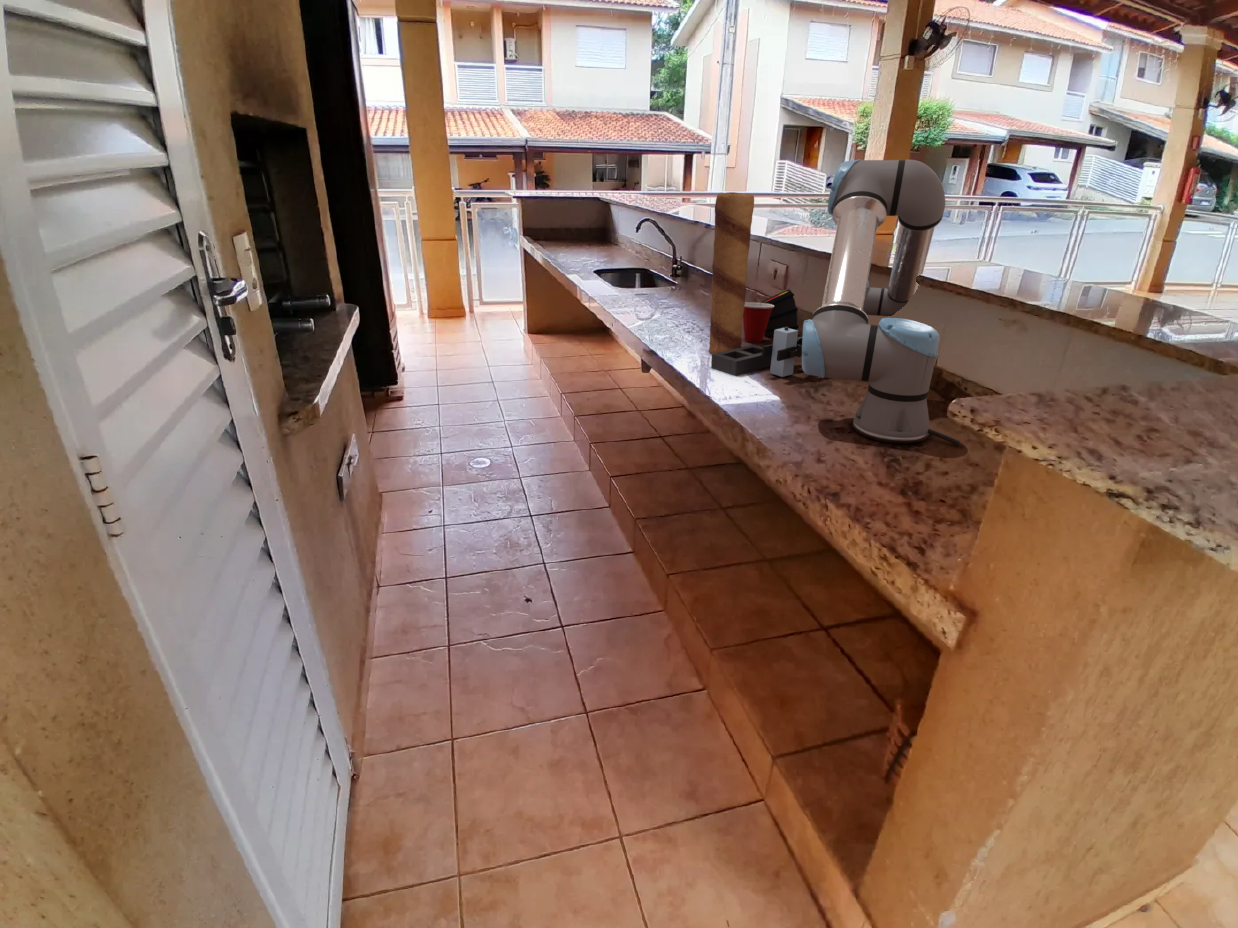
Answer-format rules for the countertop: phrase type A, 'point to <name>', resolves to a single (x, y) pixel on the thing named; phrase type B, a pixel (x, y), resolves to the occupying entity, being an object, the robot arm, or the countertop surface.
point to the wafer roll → (730, 269)
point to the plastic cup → (755, 320)
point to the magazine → (782, 312)
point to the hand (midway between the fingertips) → (770, 353)
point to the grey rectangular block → (781, 341)
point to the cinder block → (740, 360)
